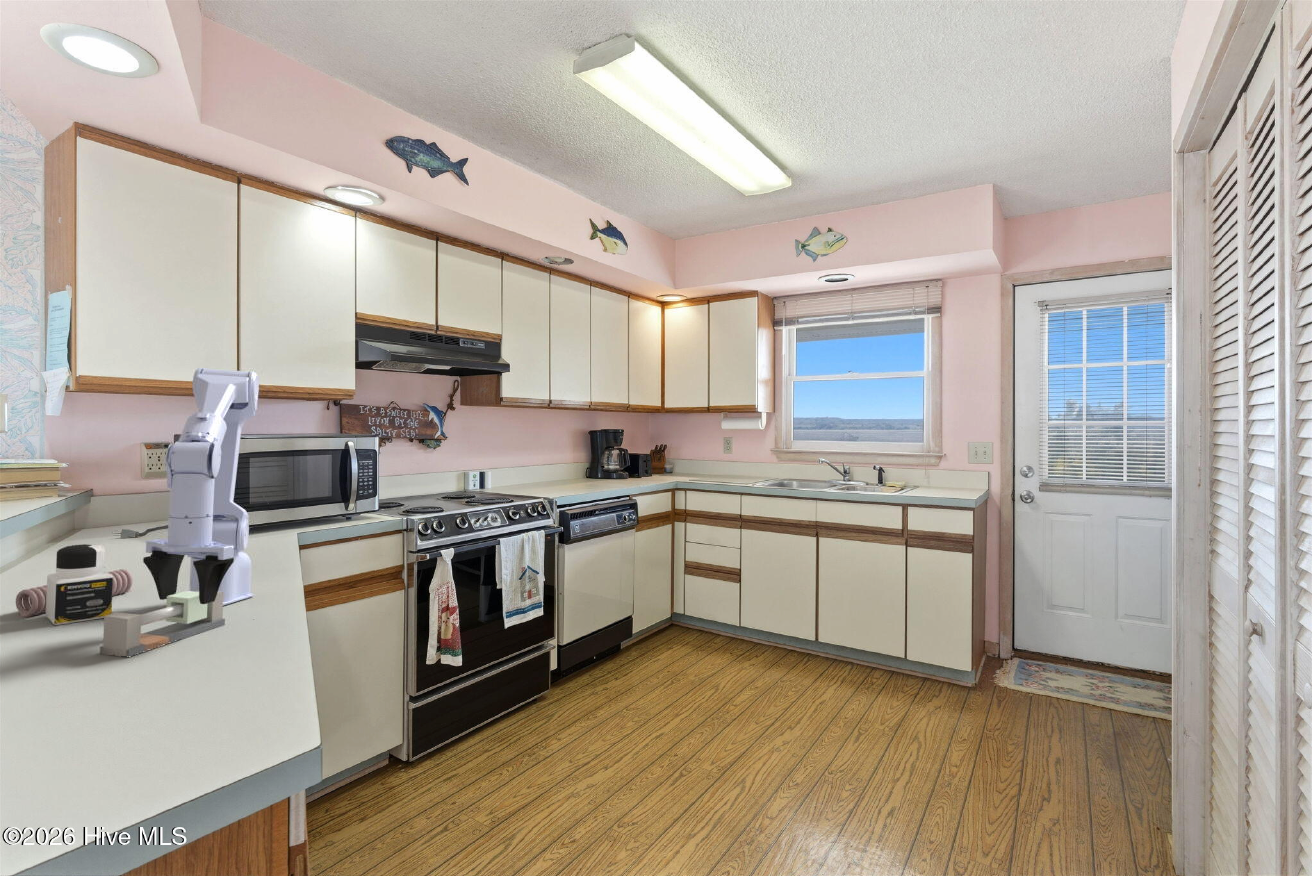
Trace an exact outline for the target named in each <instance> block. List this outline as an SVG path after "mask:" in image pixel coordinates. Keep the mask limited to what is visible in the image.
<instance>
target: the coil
mask: <svg viewBox="0 0 1312 876" xmlns="http://www.w3.org/2000/svg"><path fill="white" fill-rule="evenodd" d="M107 573H109V574H110V575H112V576H113V590H112V597H115V596H118V595H119V596H120V595H121V594H126V593H131V591H132V590H131V588H132V587H133V582H134V581H133V575H132V573H131V572H130V571H128V570H127V569H117V570H113V571H107ZM46 596H47V584H44V585H42V586H41V585H40V586H37V587H31V588H29V589H27V588H25V589H22V590H21V591H19V592H18V593H17V594H16V597H15V607H16V609H17V611H18V612H19V613H20V614H19V616H18V617H19V618H23V619H24V618H26V619H27V618H30V617H33V616H34V617H35V616H37V615H42V614H44V613H45V614H46Z"/></svg>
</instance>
